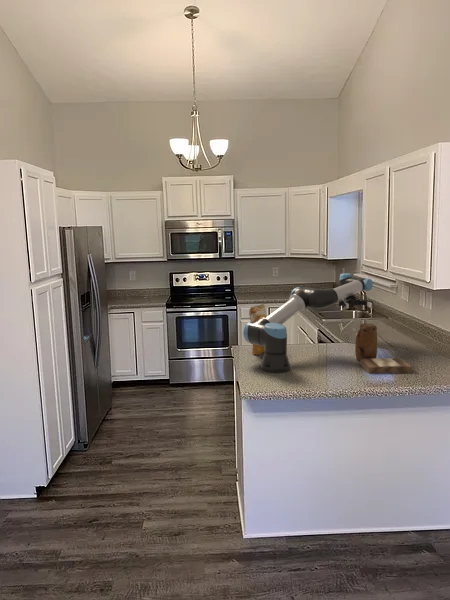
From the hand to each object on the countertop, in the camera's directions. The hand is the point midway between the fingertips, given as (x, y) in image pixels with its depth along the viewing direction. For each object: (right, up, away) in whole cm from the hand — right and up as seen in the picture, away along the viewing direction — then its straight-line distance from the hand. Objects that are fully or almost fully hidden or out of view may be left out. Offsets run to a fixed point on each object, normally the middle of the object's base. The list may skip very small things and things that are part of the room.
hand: (359, 306), depth 274 cm
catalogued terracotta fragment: (0, -30, -11) cm, 32 cm away
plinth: (+5, -32, -27) cm, 43 cm away
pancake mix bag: (-57, -28, +8) cm, 64 cm away
